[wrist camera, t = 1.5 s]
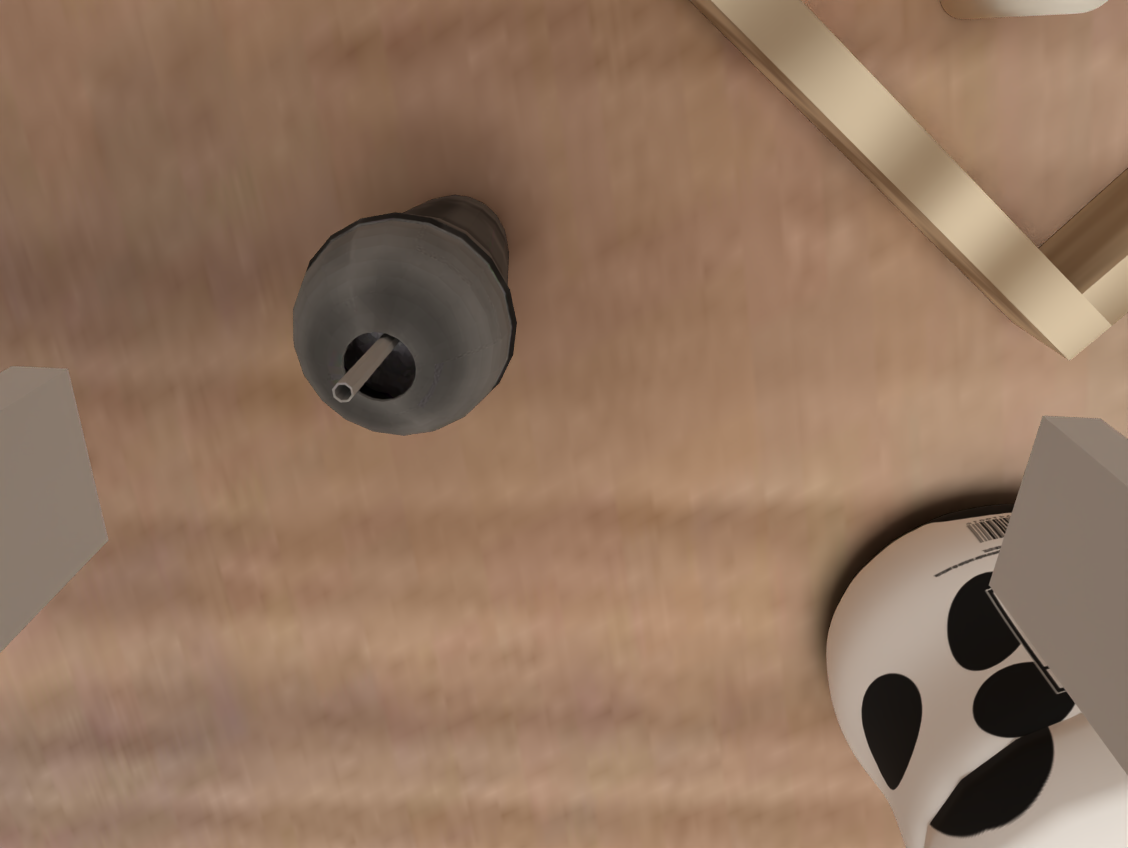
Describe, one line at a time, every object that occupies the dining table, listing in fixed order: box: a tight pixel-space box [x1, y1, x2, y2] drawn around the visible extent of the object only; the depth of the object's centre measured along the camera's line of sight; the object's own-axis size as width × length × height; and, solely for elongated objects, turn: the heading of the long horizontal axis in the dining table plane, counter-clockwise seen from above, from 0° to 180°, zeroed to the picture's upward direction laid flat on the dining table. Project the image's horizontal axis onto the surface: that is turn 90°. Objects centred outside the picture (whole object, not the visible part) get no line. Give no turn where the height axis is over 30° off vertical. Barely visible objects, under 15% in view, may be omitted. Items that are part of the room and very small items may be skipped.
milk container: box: [826, 504, 1128, 848], centre depth 37 cm, size 17×17×18 cm
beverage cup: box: [293, 195, 517, 436], centre depth 28 cm, size 7×7×20 cm
